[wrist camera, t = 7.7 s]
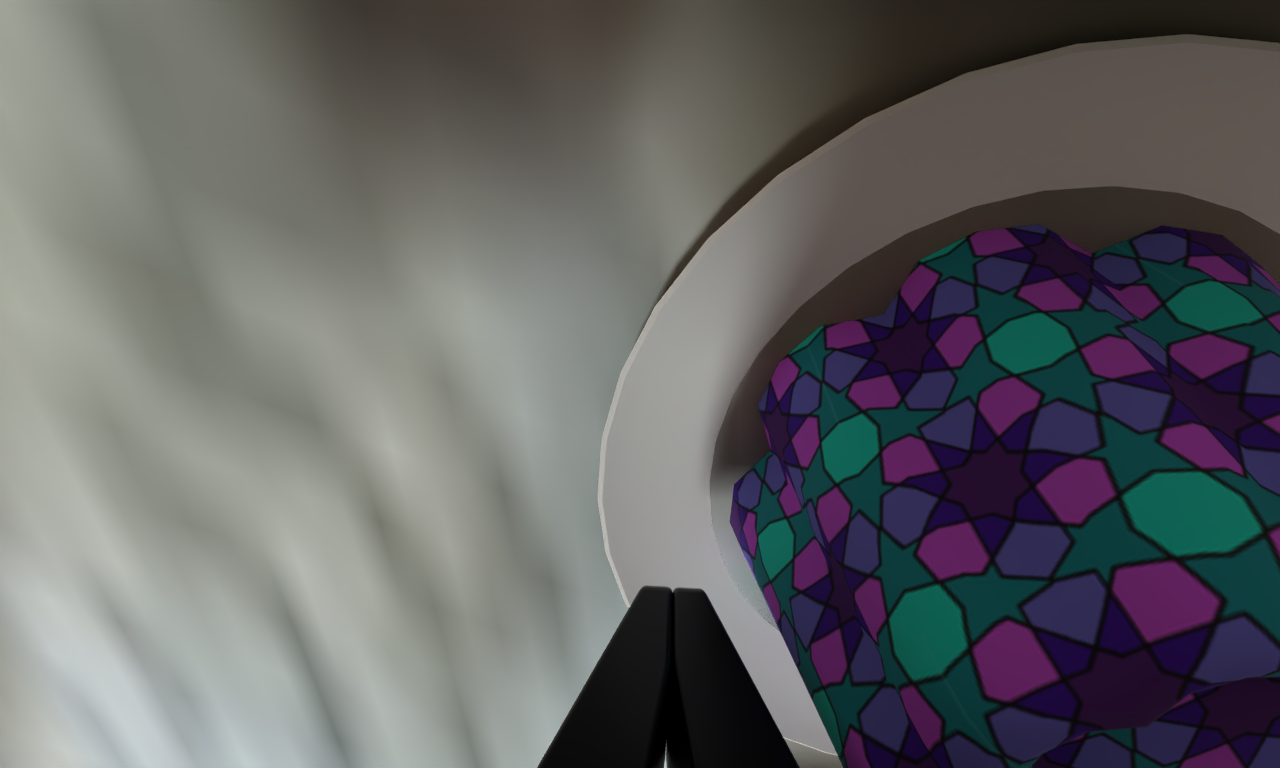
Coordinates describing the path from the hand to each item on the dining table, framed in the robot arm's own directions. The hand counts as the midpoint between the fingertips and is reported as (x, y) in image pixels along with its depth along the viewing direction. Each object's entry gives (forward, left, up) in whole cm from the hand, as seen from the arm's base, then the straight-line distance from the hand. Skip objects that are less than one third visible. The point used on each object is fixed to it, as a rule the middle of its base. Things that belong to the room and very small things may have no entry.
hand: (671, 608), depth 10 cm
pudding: (+5, +1, -2) cm, 5 cm away
